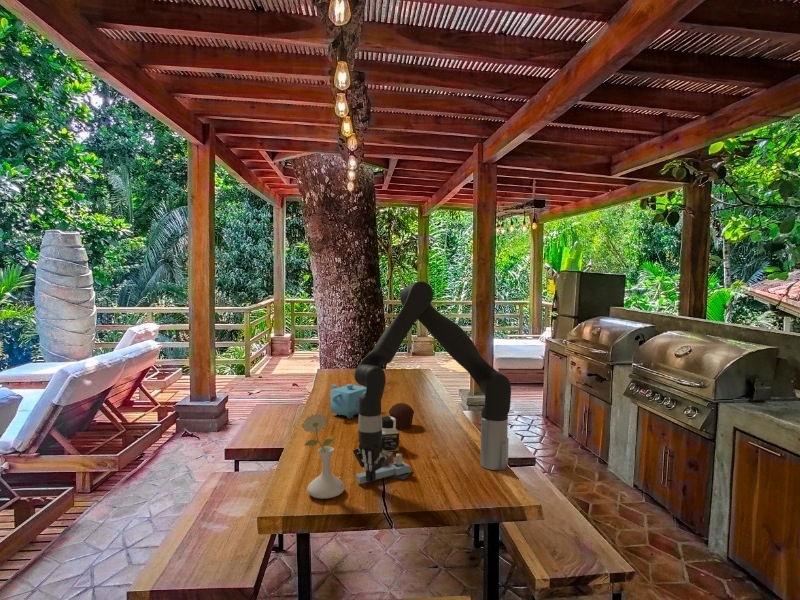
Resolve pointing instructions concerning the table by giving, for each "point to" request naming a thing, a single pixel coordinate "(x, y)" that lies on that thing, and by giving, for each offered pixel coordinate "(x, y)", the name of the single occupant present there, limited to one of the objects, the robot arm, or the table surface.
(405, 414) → the muffin
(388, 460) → the block
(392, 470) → the link
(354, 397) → the teakettle
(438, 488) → the table surface
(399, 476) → the pintle block
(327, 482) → the flower in vase
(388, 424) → the medicine bottle
